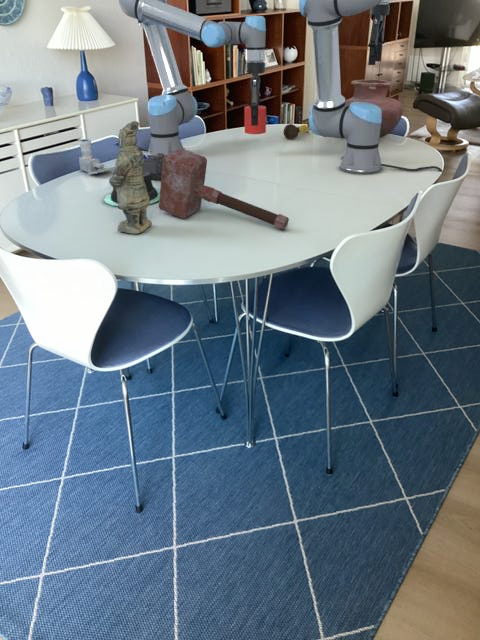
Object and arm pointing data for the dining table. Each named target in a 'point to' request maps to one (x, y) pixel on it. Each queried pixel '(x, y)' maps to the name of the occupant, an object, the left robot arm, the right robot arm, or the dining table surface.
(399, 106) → the clay pot
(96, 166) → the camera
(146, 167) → the toy
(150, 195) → the chocolate cake
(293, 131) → the figurine
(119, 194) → the statue
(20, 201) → the dining table surface
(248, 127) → the canister
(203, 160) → the sledgehammer
